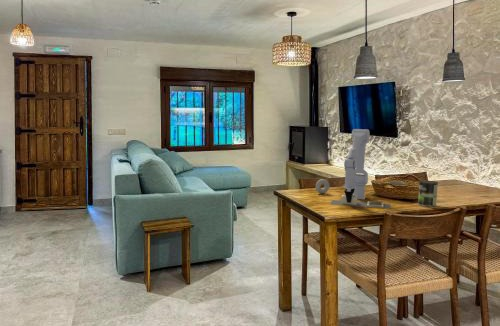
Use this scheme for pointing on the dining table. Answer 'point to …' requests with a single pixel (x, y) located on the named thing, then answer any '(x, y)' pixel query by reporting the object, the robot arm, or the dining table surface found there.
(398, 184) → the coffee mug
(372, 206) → the frame
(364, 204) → the mat
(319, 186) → the donut
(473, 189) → the dining table surface
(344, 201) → the card box
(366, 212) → the dining table surface
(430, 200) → the coffee can
